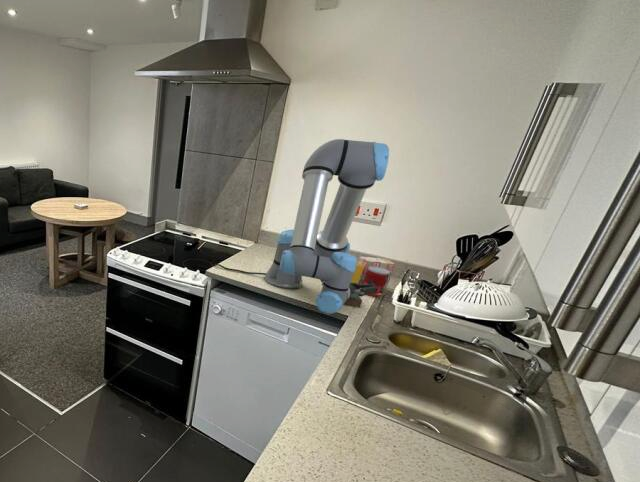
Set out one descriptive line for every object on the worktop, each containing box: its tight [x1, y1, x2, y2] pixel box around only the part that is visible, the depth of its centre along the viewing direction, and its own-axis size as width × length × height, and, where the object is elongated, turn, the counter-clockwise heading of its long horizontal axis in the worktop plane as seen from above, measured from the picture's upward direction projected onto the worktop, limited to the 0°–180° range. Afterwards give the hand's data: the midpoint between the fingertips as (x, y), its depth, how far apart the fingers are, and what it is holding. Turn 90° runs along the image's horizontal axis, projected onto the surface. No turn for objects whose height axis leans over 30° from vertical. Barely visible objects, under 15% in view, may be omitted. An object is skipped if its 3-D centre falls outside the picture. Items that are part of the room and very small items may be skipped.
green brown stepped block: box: [343, 293, 363, 308], centre depth 158 cm, size 9×9×6 cm
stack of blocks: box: [358, 256, 396, 290], centre depth 176 cm, size 21×6×12 cm, turn 84°
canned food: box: [363, 267, 390, 298], centre depth 167 cm, size 8×8×11 cm
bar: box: [351, 262, 364, 284], centre depth 155 cm, size 4×4×10 cm
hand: (352, 276), depth 153 cm, fingers open, 13 cm apart
